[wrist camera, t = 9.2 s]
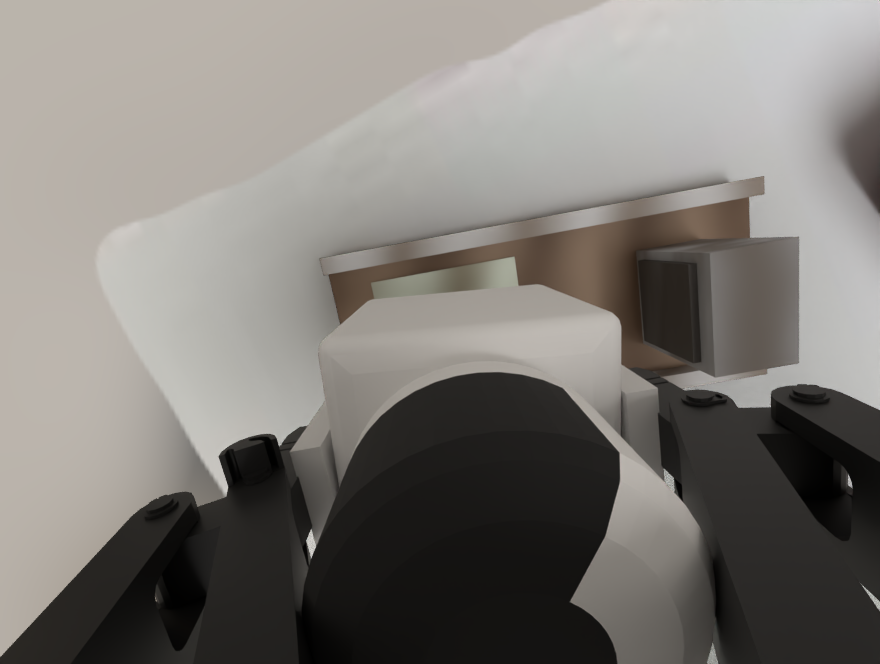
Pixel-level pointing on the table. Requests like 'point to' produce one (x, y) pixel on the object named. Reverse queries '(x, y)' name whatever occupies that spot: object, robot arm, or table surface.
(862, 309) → the table surface
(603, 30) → the table surface
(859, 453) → the robot arm
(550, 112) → the table surface
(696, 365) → the wooden tray with block
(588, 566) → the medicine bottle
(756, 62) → the table surface
